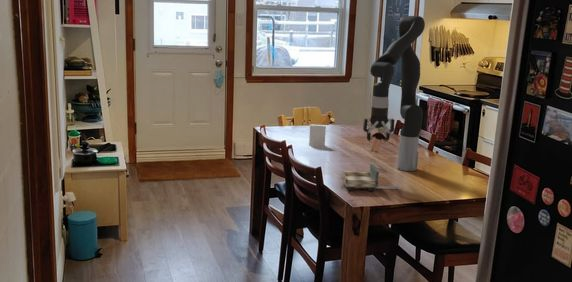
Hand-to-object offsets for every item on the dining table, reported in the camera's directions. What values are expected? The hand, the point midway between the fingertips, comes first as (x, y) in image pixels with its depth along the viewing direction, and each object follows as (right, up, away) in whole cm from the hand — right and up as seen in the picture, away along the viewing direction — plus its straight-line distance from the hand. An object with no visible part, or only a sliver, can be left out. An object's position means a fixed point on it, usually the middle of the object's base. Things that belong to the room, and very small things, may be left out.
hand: (377, 140), depth 273 cm
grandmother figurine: (-1, -6, +1) cm, 6 cm away
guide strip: (-5, -21, -11) cm, 24 cm away
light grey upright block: (-25, -3, +63) cm, 68 cm away
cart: (-10, -21, -11) cm, 26 cm away
